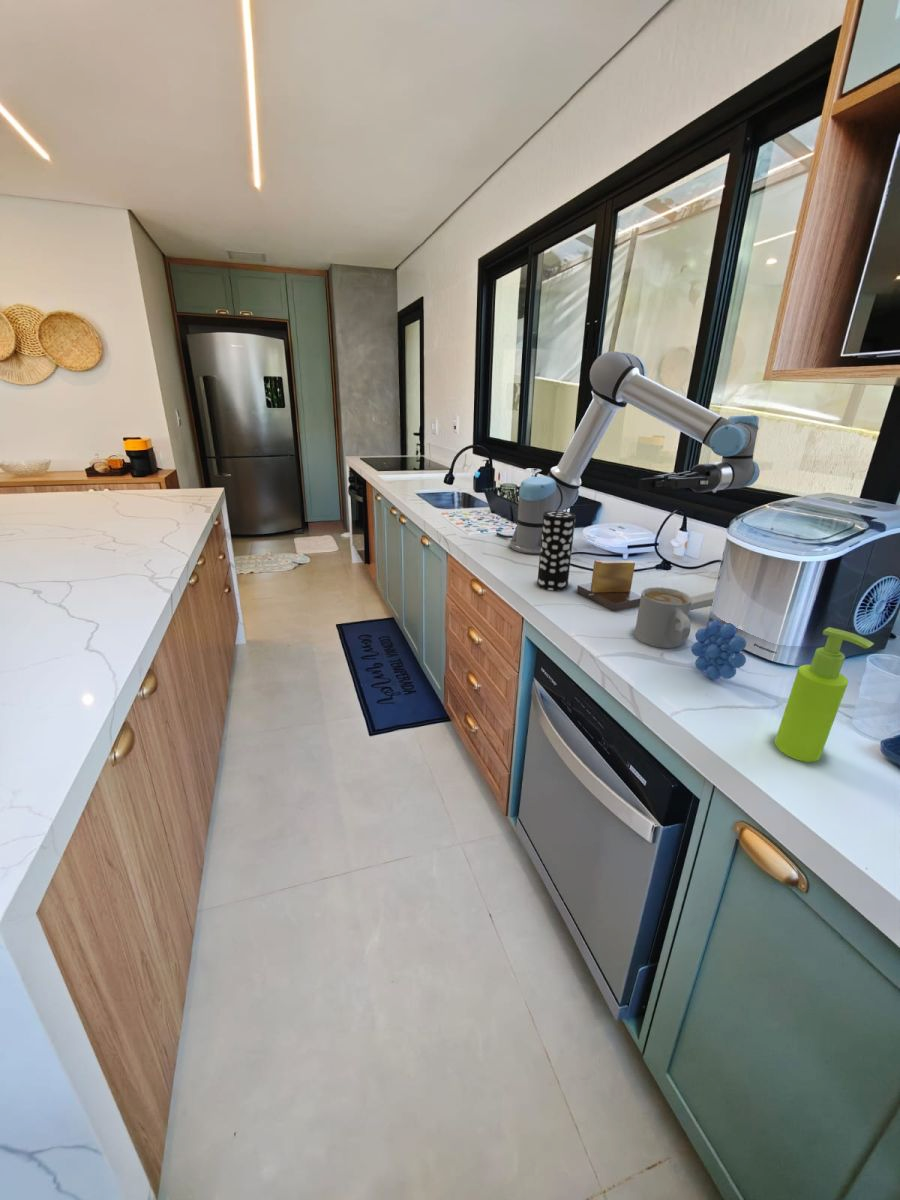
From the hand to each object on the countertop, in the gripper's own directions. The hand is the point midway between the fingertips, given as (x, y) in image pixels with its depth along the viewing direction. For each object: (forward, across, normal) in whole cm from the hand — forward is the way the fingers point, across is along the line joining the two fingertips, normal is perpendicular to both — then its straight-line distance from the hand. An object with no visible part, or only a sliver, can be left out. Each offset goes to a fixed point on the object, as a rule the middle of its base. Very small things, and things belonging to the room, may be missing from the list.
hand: (640, 484), depth 129 cm
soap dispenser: (+23, -64, -31) cm, 75 cm away
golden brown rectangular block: (+11, -4, -26) cm, 28 cm away
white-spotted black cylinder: (+20, +9, -27) cm, 35 cm away
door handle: (-7, -21, -30) cm, 37 cm away
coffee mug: (+16, -28, -29) cm, 44 cm away
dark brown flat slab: (+11, -4, -28) cm, 30 cm away
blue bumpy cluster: (+18, -44, -30) cm, 56 cm away
